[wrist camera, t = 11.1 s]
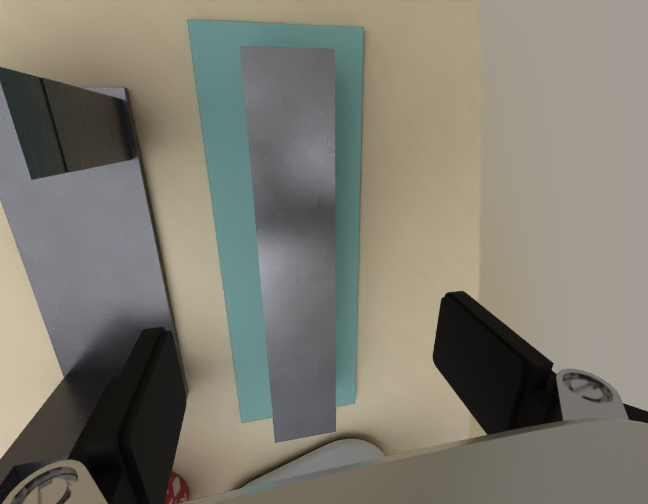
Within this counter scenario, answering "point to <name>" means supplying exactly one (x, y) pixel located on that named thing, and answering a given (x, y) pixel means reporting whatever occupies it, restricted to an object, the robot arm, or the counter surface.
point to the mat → (237, 195)
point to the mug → (176, 491)
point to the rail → (295, 228)
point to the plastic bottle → (324, 460)
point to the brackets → (78, 247)
